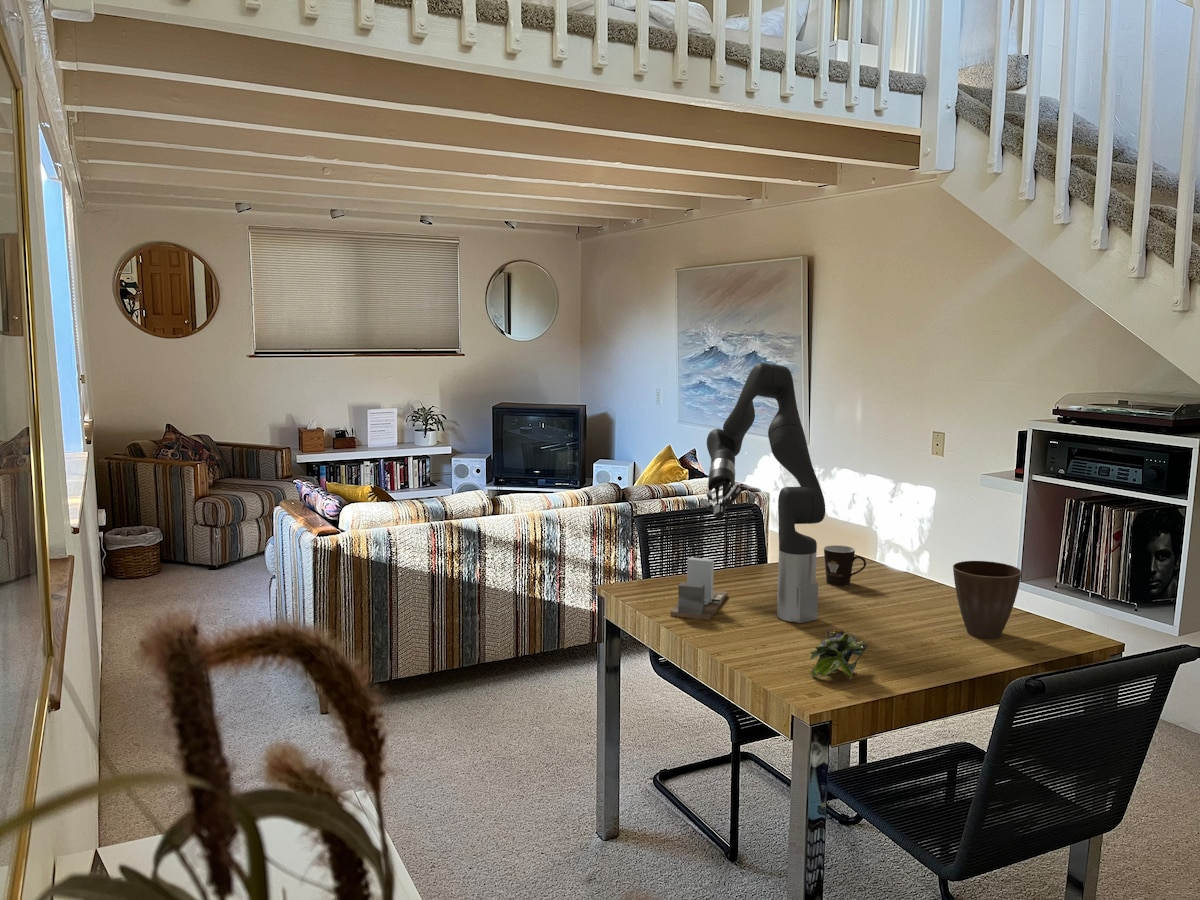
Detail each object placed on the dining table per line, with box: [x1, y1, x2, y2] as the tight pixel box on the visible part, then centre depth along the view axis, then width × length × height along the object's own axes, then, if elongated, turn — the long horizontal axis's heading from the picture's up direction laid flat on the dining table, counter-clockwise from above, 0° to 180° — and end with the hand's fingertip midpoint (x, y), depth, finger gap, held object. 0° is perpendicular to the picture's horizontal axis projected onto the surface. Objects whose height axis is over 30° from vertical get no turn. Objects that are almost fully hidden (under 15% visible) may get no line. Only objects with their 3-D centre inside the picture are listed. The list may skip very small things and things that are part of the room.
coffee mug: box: [823, 544, 867, 587], centre depth 259 cm, size 12×9×10 cm
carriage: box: [686, 556, 720, 605], centre depth 236 cm, size 8×8×11 cm
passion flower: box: [809, 629, 869, 683], centre depth 191 cm, size 11×11×12 cm
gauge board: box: [670, 581, 728, 621], centre depth 239 cm, size 22×10×8 cm, turn 160°
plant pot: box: [952, 560, 1022, 639], centre depth 217 cm, size 15×15×16 cm
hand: (719, 516), depth 251 cm, fingers closed
